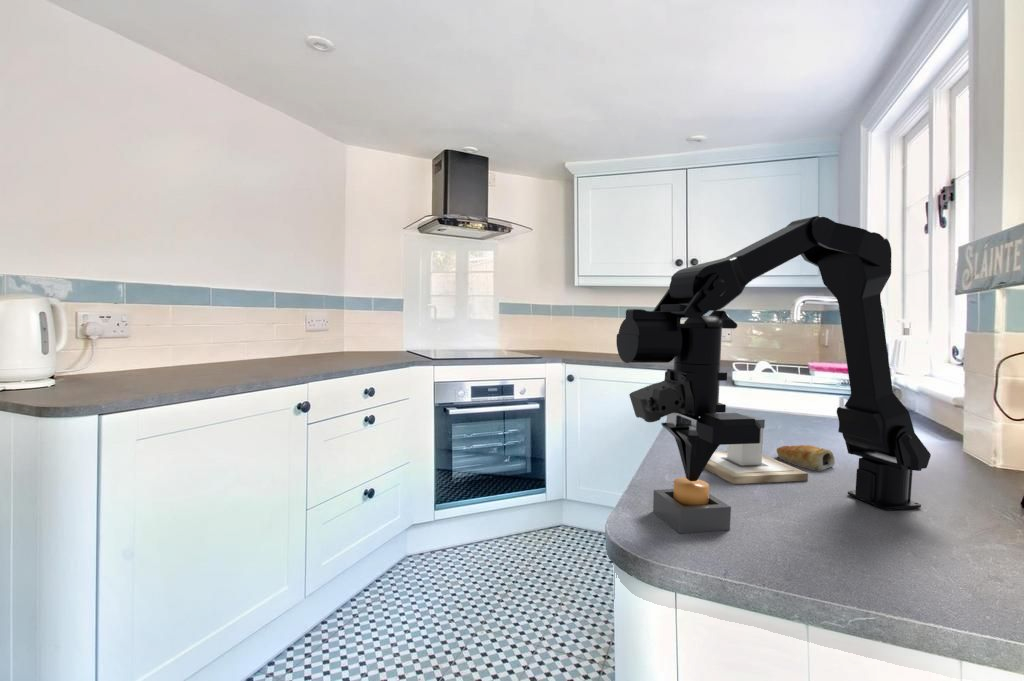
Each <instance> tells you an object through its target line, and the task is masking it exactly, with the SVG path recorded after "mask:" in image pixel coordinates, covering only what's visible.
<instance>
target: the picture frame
mask: <svg viewBox="0 0 1024 681" xmlns="http://www.w3.org/2000/svg"><path fill="white" fill-rule="evenodd" d="M727 452H728V450H727V451H715V452H714V453H713V455H712V456H711V458H710V460H709V461H708V463H707V465H706V466H705V468H704V470H707V471H709V472H710V473H712V474H714V475H716V476H718V477H720V478H721V479H723V480H725V481H727V482H729V483H730V484H732V485H743V484H759V483H761V484H762V483H763V484H765V483H780V482H785V483H786V482H799V481H800V482H801V481H802V482H803V481H804V482H805V481H808V480H809V473H808V472H806V471H803V470H801V469H799V468H796V467H793V466H791V465H789V464H787V463H784V462H781V461H779V460H776V459H775V458H773V457H769V456H767V455H764V454H762V465H739V464H737V463H735V462H733V461H731V460H729V459H727Z"/></svg>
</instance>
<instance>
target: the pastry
mask: <svg viewBox="0 0 1024 681" xmlns="http://www.w3.org/2000/svg"><path fill="white" fill-rule="evenodd" d="M776 453H777V457H778V458H779V459H780V460H781V461H785V462H786V463H788V464H791V465H794V466H798V467H801V468H805V469H808V470H813V471H815V472H816V471H821V472H822V471H824V470H827V469H828V468H831V467H834V466H835V463H836V461H835V456H834V453H833V451H832V450H831V449H828V448H820V447H819V446H818V447H817V446H813V445H810V444H807V445H806V444H805V445H803V444H799V445H782V446H780V447H777V448H776Z"/></svg>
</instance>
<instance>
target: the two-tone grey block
mask: <svg viewBox="0 0 1024 681" xmlns="http://www.w3.org/2000/svg"><path fill="white" fill-rule="evenodd" d="M743 415H744V416H748V417H751V418H754V419H755V420H756V421H757V422H758V423H759V424H760V425H761V442H760V443H757V444H727V451H728V452H727V459H729V460H731V461H733V462H735V463H737V464H739V465H762V455H763V444H764V442H763V441H764V429H765V427H766V426H765V424H766V423H765V422H766V419H765V418H764V419H763V418H760V417H758V416H754V415H752V414H743Z"/></svg>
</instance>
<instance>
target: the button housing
mask: <svg viewBox="0 0 1024 681" xmlns="http://www.w3.org/2000/svg"><path fill="white" fill-rule="evenodd" d="M673 492H674V488H666V489H665V488H664V489H653V502H652V505H653V506H652V512H654V514H656V515H657V516H658V517H659V518H660V519H662V521H664V522H666V523H667V524H668V526H670V527H671V528H672V529H674V530H675V531H676V532H677V533H678V534H690V533H692V534H693V533H703V532H704V533H705V532H706V533H707V532H719V531H720V532H721V531H730V530H731V515H732V514H731V512H732V506H730V505H728V504H727V503H726V502H724V501H722V500H720V498H717V497H716V496H714V495H712V494H711V493H709V503H708V505H698V506H684V505H681V504H680V503H678V502H677V501H676V500H674V499H673Z"/></svg>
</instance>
